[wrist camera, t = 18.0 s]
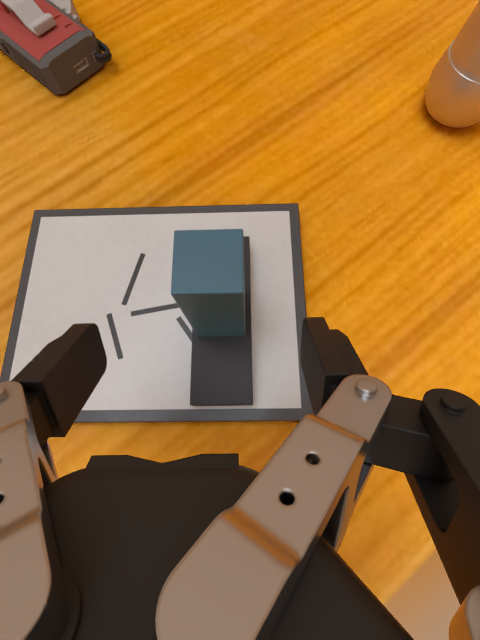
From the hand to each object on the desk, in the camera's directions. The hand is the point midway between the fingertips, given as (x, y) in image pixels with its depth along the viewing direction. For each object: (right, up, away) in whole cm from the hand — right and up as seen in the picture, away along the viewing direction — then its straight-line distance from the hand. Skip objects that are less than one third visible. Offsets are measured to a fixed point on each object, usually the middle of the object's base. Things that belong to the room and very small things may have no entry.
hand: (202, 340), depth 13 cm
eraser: (0, +1, +11) cm, 11 cm away
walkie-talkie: (-20, +31, +22) cm, 43 cm away
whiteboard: (-5, +2, +12) cm, 13 cm away
